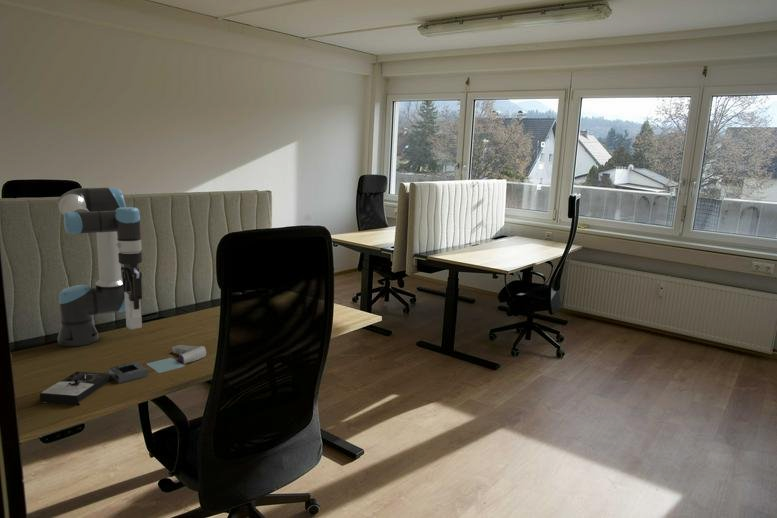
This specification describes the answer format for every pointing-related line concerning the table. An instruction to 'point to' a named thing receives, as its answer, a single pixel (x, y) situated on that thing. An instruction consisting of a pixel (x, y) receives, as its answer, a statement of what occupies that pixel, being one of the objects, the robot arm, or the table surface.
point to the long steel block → (131, 322)
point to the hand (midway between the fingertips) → (133, 315)
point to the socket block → (128, 372)
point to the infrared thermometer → (189, 353)
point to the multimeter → (74, 388)
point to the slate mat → (165, 365)
